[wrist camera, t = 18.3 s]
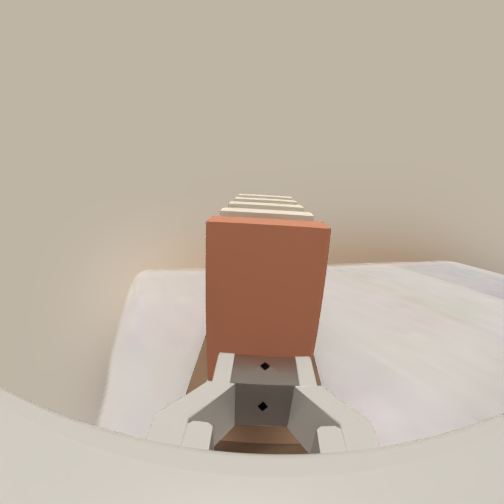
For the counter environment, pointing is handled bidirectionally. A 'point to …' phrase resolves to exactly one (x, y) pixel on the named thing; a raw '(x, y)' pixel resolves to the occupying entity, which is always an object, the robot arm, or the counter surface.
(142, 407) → the counter surface
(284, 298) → the rust tile
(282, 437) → the walnut board
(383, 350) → the counter surface
